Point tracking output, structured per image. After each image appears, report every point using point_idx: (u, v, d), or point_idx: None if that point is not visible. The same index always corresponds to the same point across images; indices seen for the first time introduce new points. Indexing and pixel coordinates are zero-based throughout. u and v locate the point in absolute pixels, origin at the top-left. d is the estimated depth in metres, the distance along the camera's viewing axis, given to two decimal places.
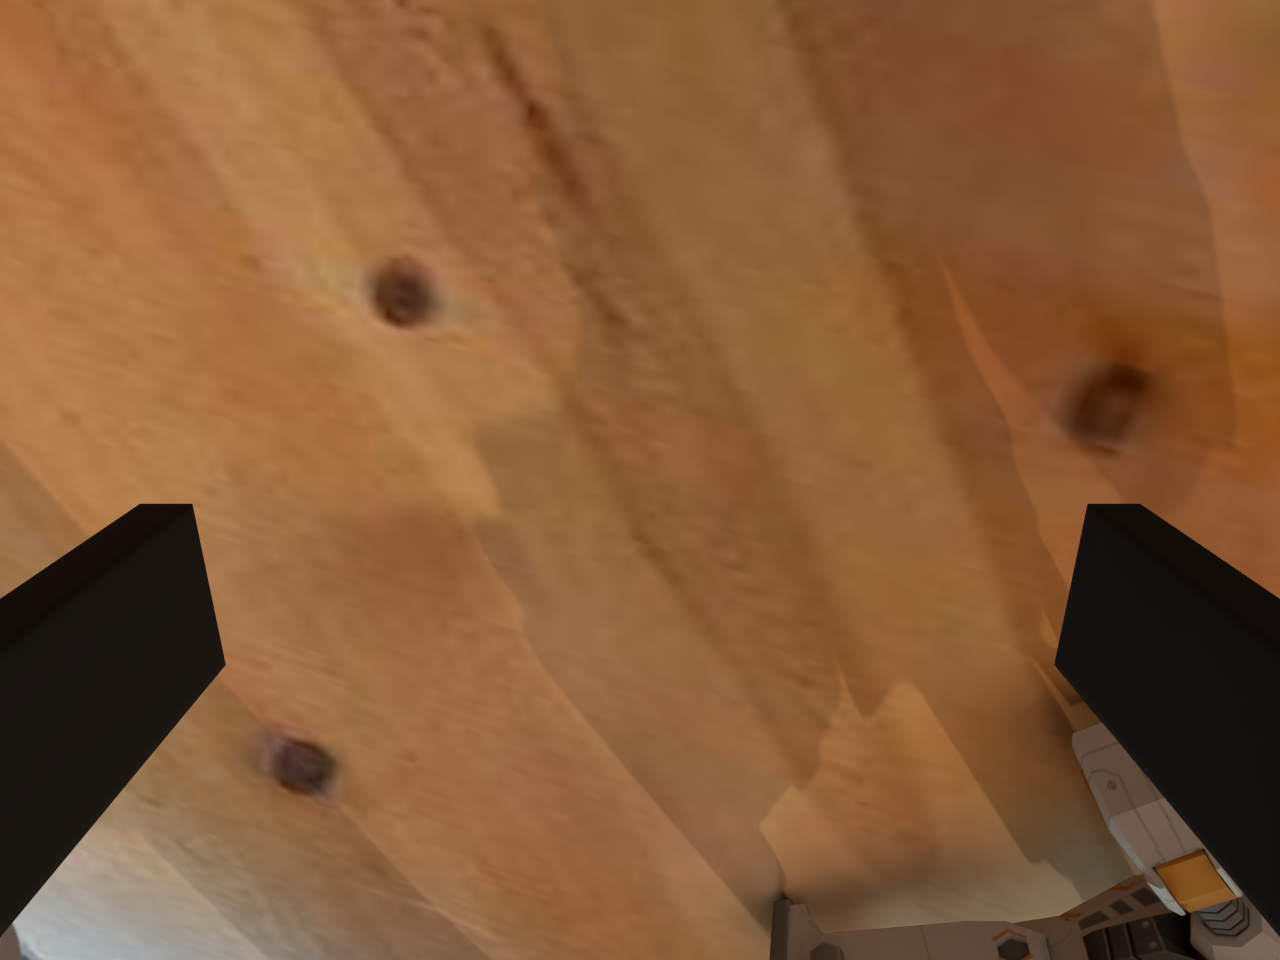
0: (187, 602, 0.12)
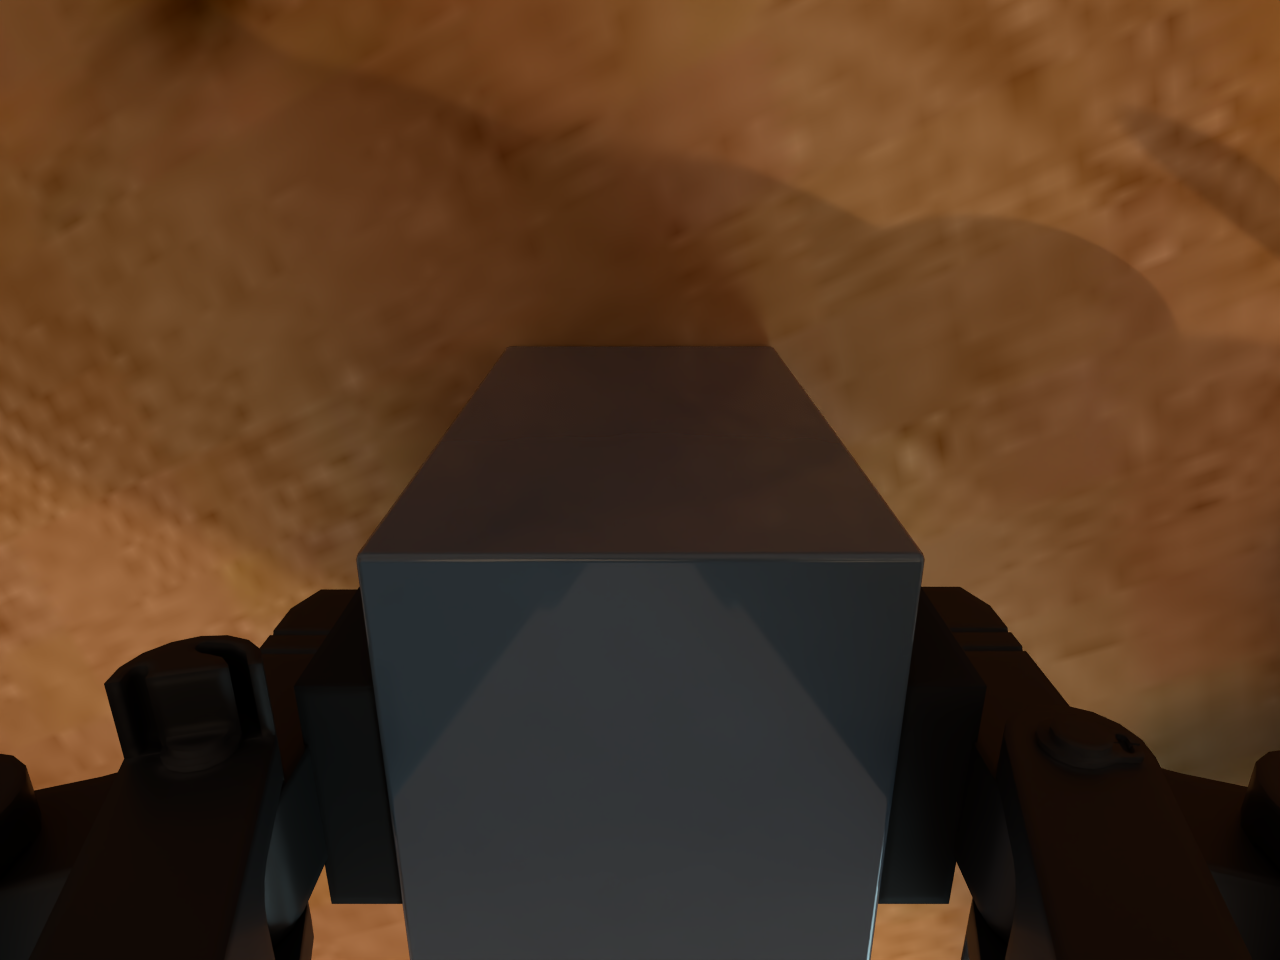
0: None
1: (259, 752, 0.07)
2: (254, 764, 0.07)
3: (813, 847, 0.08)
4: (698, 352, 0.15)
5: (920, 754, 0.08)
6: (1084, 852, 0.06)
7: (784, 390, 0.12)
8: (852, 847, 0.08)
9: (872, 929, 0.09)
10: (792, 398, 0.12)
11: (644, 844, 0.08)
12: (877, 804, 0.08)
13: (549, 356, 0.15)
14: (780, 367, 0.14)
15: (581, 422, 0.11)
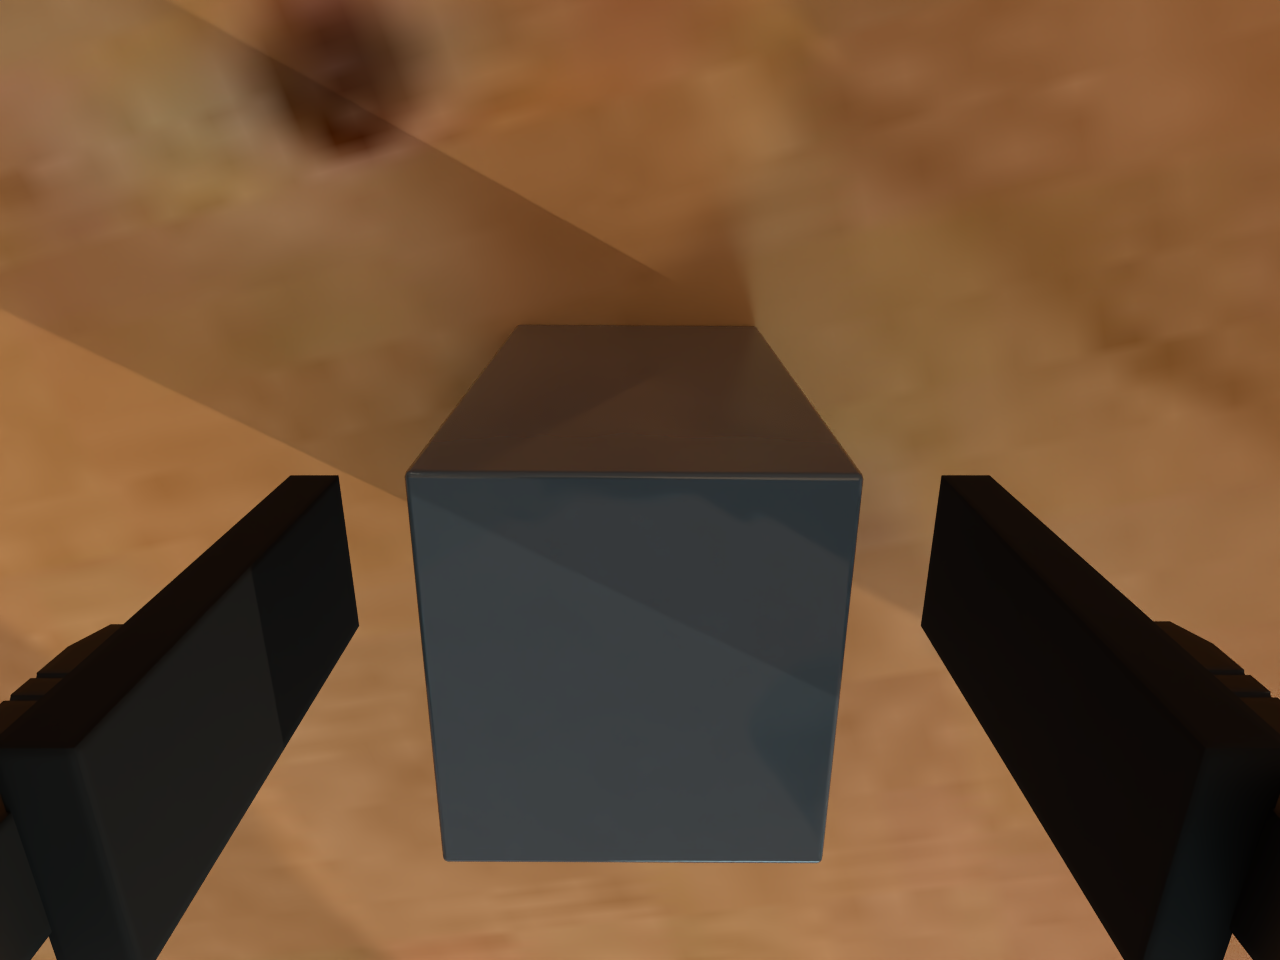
0: (335, 565, 0.13)
1: None
2: None
3: (776, 724, 0.10)
4: (688, 330, 0.17)
5: (1209, 822, 0.07)
6: None
7: (762, 360, 0.14)
8: (808, 725, 0.10)
9: (826, 800, 0.11)
10: (768, 366, 0.14)
11: (636, 721, 0.10)
12: (828, 687, 0.10)
13: (555, 332, 0.16)
14: (760, 342, 0.16)
15: (585, 382, 0.13)
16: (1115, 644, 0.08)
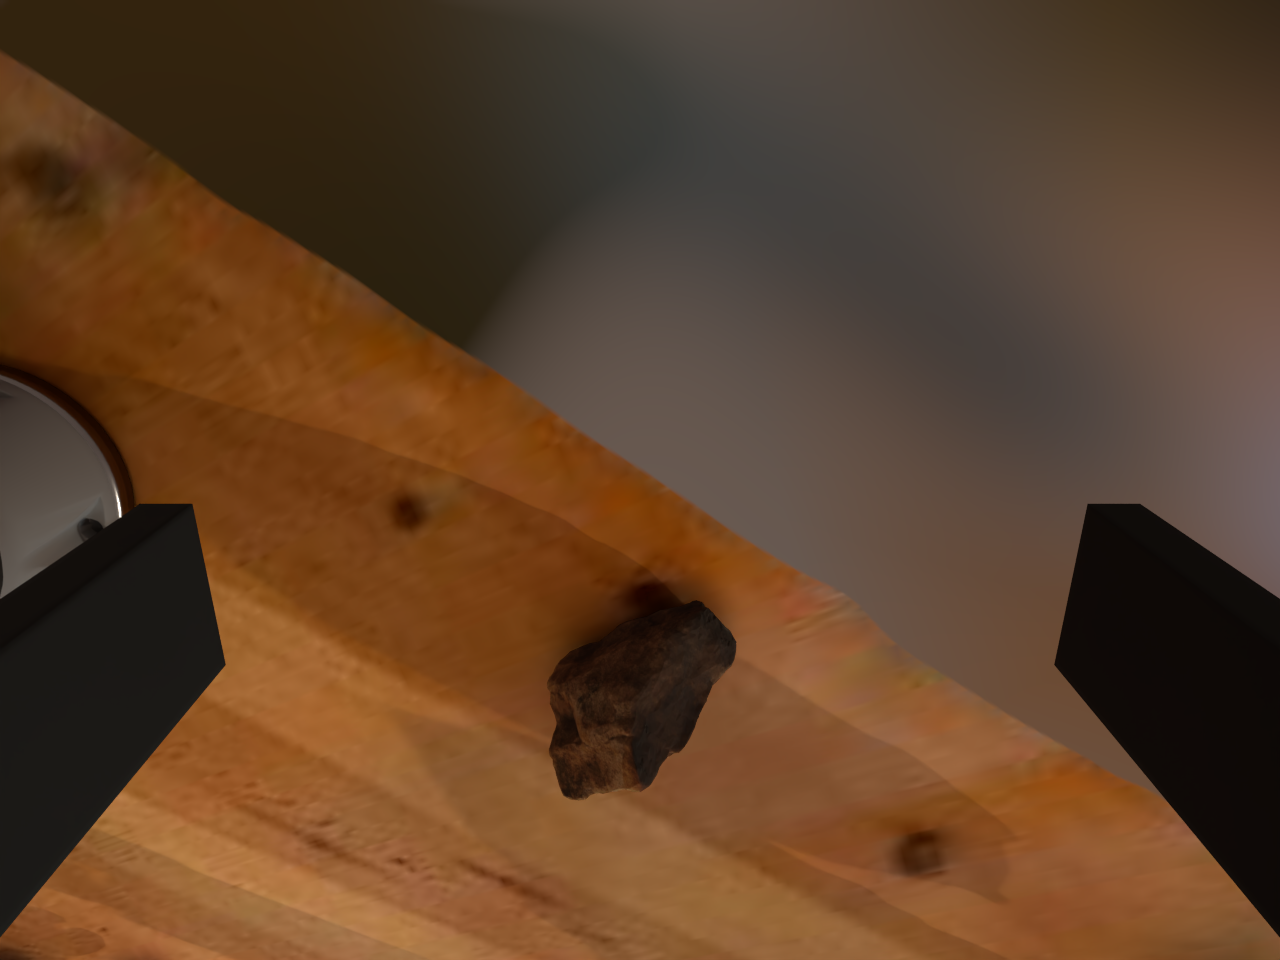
0: (187, 602, 0.12)
1: None
2: None
3: None
4: None
5: None
6: None
7: None
8: None
9: None
10: None
11: None
12: None
13: None
14: None
15: None
16: None
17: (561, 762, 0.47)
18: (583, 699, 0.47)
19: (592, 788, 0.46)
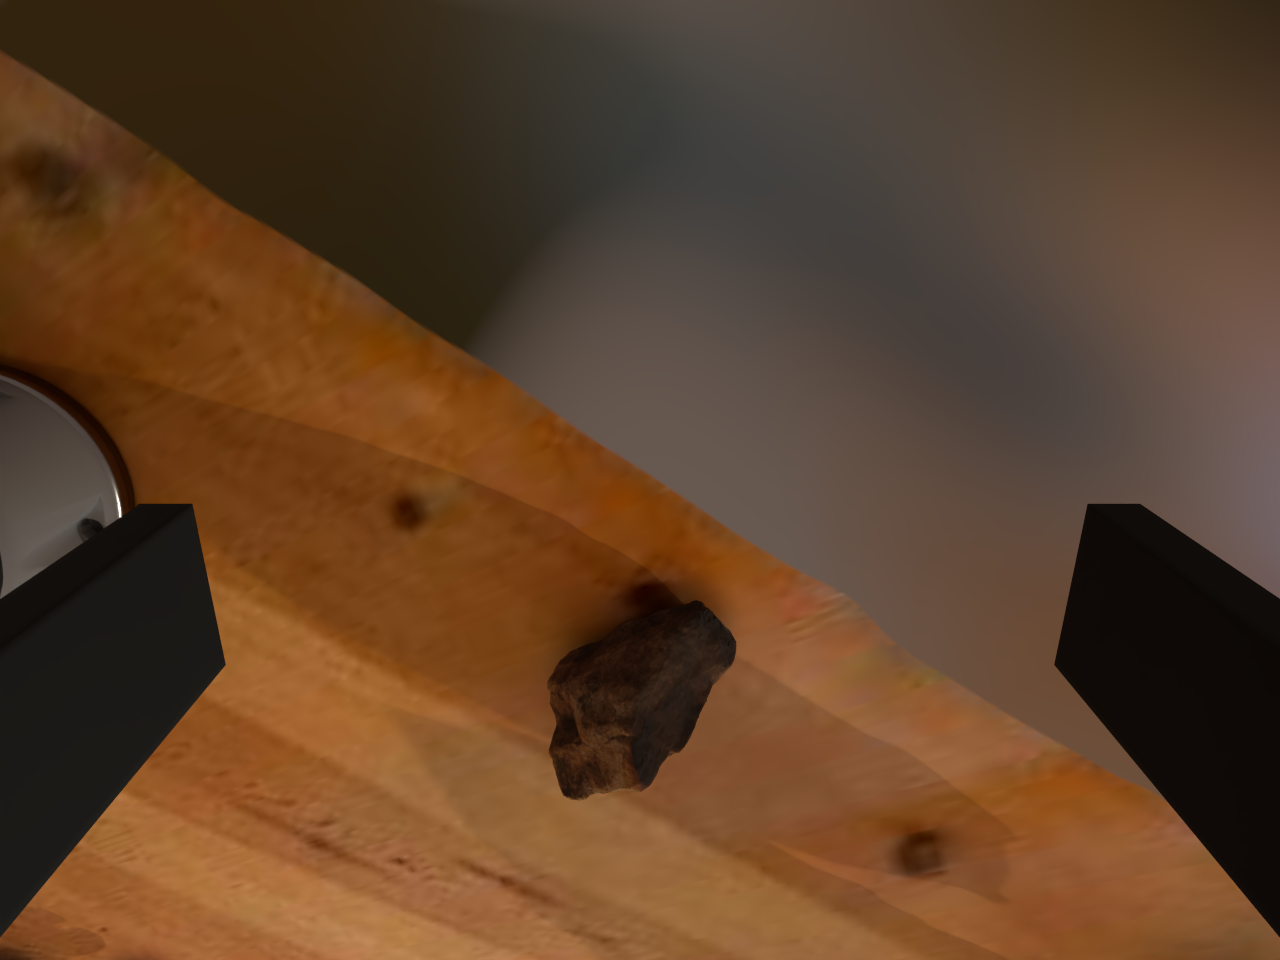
0: (187, 602, 0.12)
1: None
2: None
3: None
4: None
5: None
6: None
7: None
8: None
9: None
10: None
11: None
12: None
13: None
14: None
15: None
16: None
17: (561, 762, 0.47)
18: (583, 699, 0.47)
19: (592, 788, 0.46)
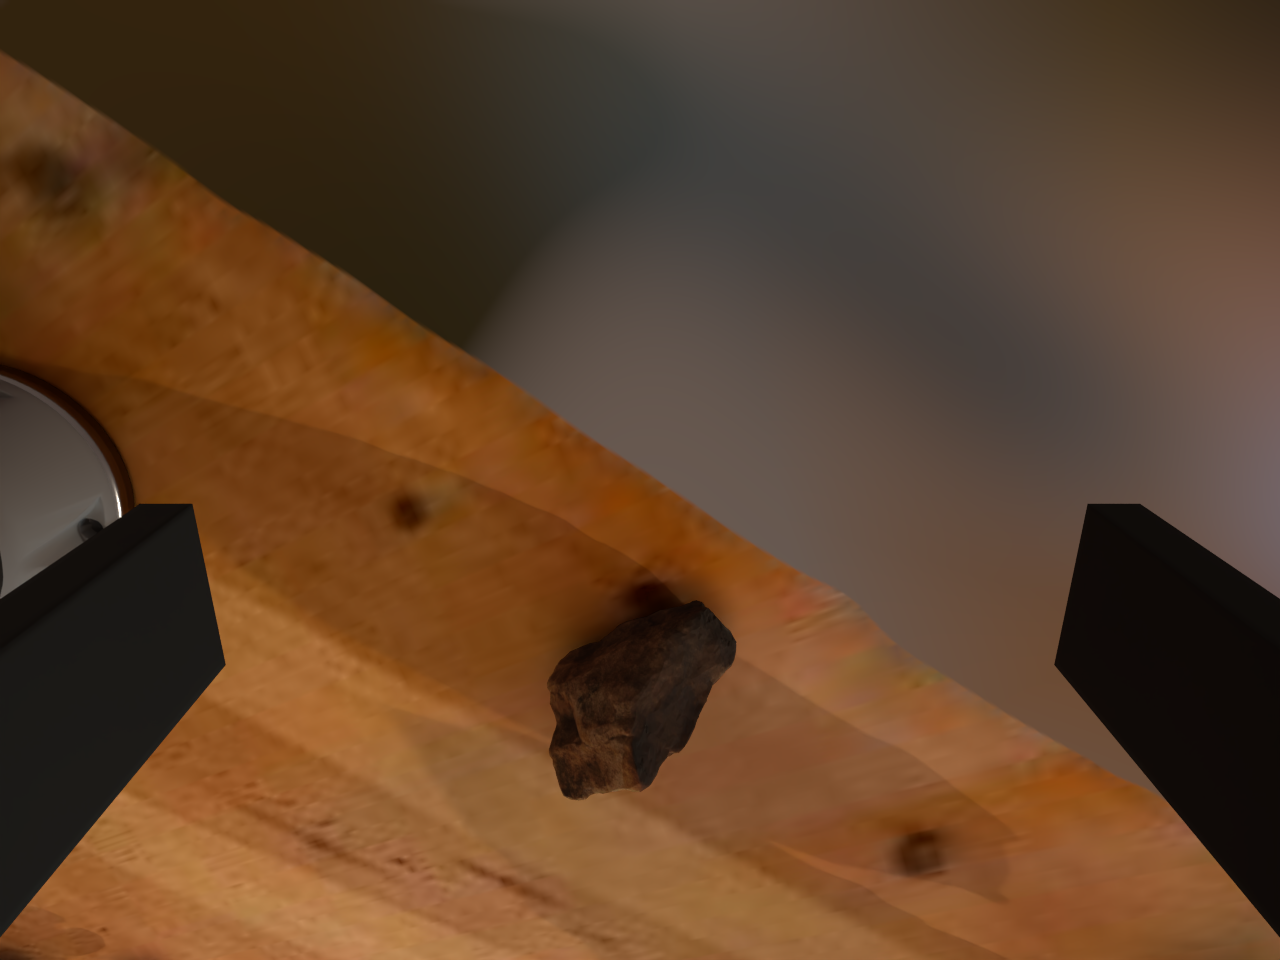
0: (187, 602, 0.12)
1: None
2: None
3: None
4: None
5: None
6: None
7: None
8: None
9: None
10: None
11: None
12: None
13: None
14: None
15: None
16: None
17: (561, 762, 0.47)
18: (583, 699, 0.47)
19: (592, 788, 0.46)
